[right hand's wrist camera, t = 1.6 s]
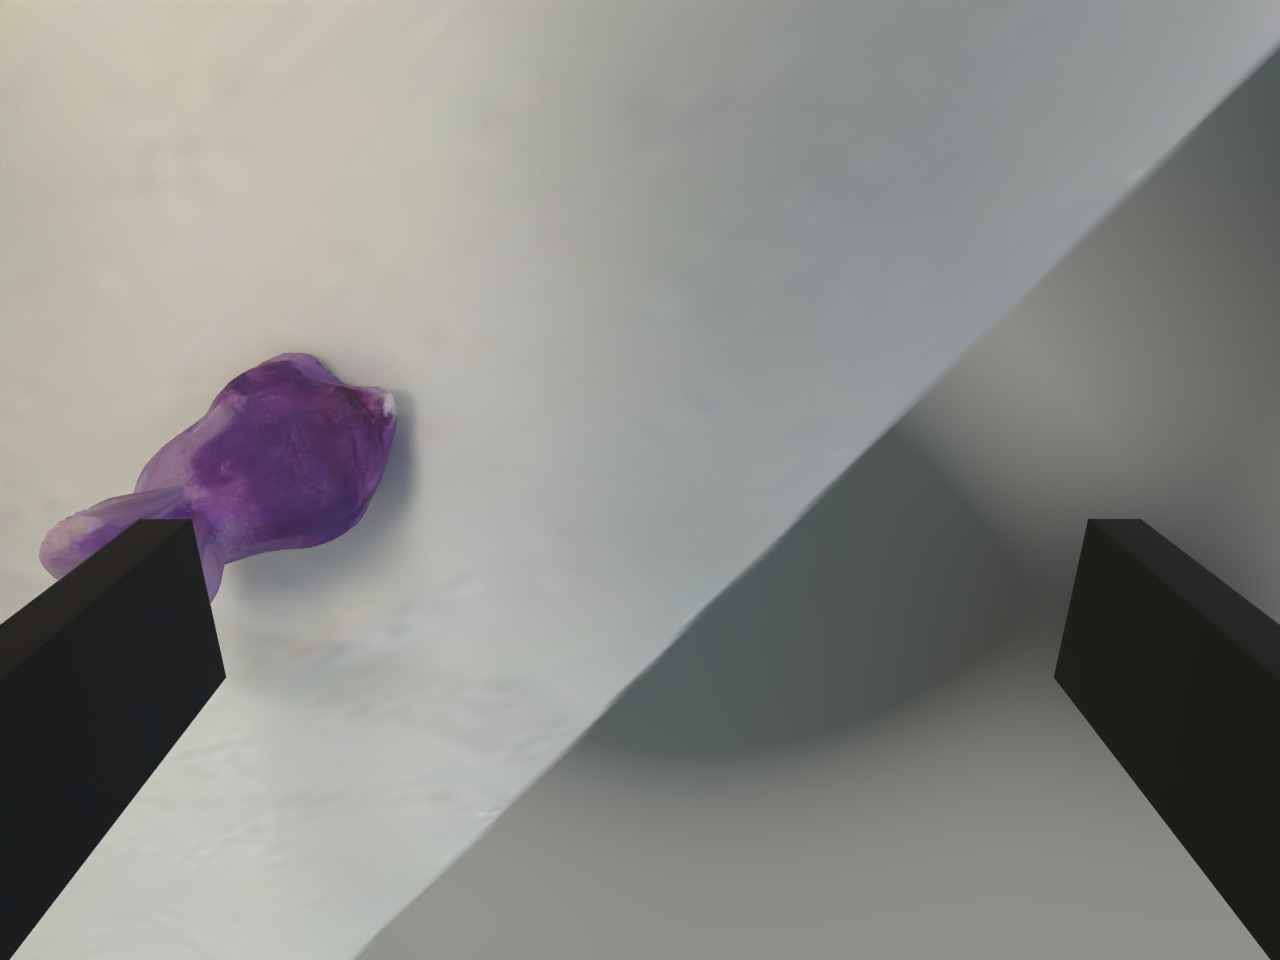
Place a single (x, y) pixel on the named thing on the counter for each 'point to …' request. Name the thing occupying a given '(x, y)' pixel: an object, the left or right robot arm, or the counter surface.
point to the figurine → (253, 470)
